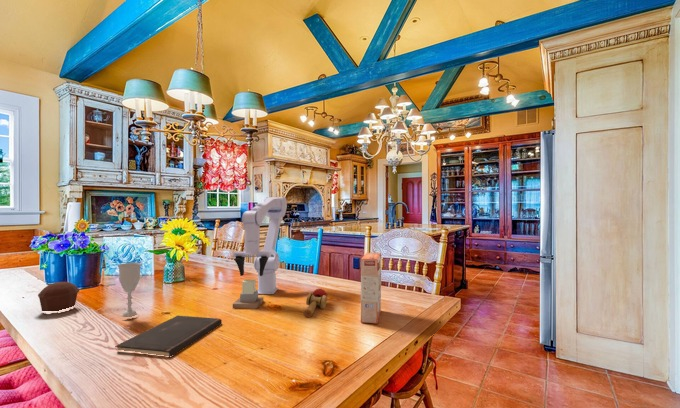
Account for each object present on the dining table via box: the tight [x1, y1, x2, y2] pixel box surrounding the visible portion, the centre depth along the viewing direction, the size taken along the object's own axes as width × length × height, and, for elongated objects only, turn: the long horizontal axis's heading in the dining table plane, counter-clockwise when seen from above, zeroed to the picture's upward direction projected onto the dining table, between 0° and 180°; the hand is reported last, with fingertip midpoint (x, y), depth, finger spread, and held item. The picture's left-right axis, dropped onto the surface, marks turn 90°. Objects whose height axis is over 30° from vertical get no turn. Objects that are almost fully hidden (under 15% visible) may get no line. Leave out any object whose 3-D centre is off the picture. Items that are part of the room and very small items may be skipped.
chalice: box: [117, 262, 143, 317], centre depth 106 cm, size 7×7×18 cm
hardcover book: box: [114, 315, 223, 357], centre depth 90 cm, size 16×23×2 cm
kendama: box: [303, 288, 328, 318], centre depth 115 cm, size 8×6×18 cm
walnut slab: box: [232, 296, 264, 310], centre depth 120 cm, size 9×9×2 cm
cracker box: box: [360, 252, 382, 325], centre depth 107 cm, size 14×6×21 cm, turn 168°
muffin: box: [37, 281, 80, 312], centre depth 114 cm, size 12×11×10 cm
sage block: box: [241, 279, 256, 294], centre depth 120 cm, size 4×4×4 cm
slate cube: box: [239, 289, 259, 302], centre depth 120 cm, size 6×6×3 cm
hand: (251, 275), depth 124 cm, fingers open, 7 cm apart
